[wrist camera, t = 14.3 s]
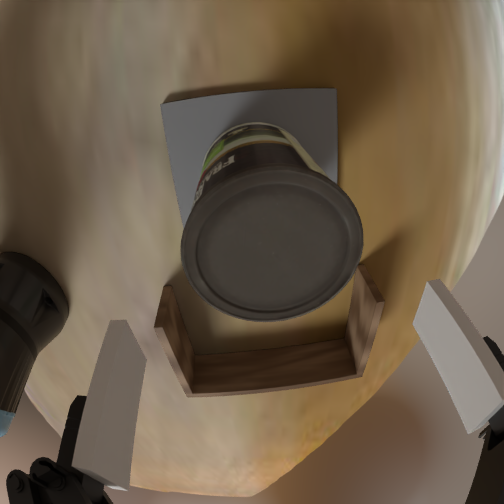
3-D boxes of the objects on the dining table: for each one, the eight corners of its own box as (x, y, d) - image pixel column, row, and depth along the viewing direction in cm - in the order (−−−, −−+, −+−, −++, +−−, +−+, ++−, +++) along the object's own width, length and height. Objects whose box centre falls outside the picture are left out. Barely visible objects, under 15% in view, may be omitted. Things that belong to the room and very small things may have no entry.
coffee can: (186, 200, 29) (159, 295, 18) (228, 104, 24) (225, 131, 13) (278, 236, 32) (305, 338, 20) (327, 151, 27) (396, 217, 16)
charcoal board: (162, 103, 25) (160, 104, 24) (333, 88, 25) (336, 88, 24) (190, 248, 34) (189, 253, 33) (332, 233, 34) (334, 237, 33)
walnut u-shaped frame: (163, 286, 36) (153, 327, 30) (363, 264, 36) (384, 301, 31) (190, 359, 44) (187, 397, 39) (349, 341, 45) (362, 376, 39)
